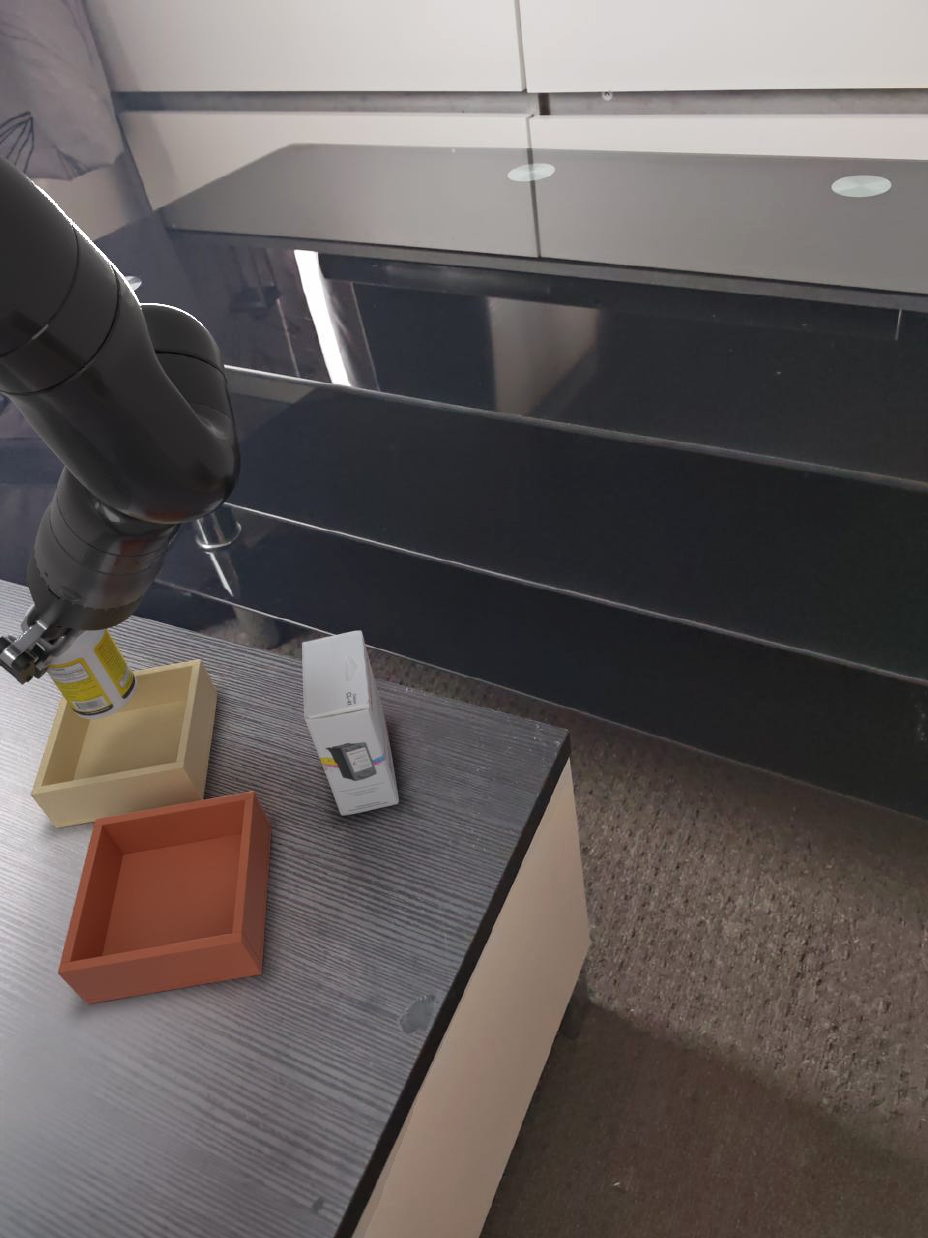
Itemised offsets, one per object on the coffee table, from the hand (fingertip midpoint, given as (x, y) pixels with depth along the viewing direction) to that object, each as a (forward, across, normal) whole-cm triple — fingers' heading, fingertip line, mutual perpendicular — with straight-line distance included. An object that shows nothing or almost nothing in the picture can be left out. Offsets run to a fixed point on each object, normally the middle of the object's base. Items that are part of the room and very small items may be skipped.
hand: (59, 641), depth 72 cm
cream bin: (+8, 0, +11) cm, 14 cm away
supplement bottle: (+3, 0, +6) cm, 6 cm away
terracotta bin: (-1, +10, +21) cm, 23 cm away
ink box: (-5, -6, +25) cm, 26 cm away
